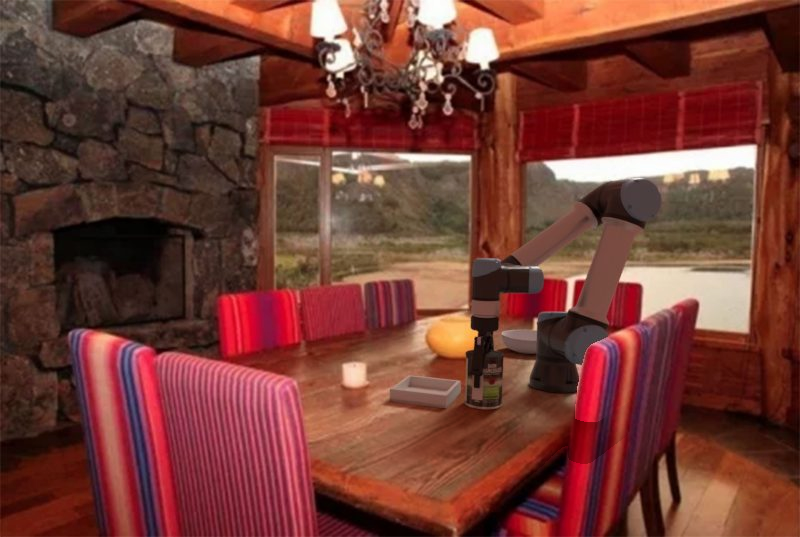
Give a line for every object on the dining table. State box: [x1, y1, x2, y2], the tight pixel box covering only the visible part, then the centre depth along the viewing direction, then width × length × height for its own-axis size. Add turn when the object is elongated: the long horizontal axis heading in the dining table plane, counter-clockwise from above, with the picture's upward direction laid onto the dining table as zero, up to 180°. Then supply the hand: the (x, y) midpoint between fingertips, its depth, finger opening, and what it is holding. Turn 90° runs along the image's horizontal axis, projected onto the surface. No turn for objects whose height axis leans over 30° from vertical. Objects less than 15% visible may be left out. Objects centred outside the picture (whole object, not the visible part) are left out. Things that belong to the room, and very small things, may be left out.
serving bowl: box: [500, 329, 537, 355], centre depth 227 cm, size 21×21×7 cm
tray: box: [389, 374, 462, 409], centre depth 164 cm, size 16×16×4 cm
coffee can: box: [464, 349, 505, 411], centre depth 159 cm, size 10×10×14 cm
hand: (482, 392), depth 159 cm, fingers open, 13 cm apart
